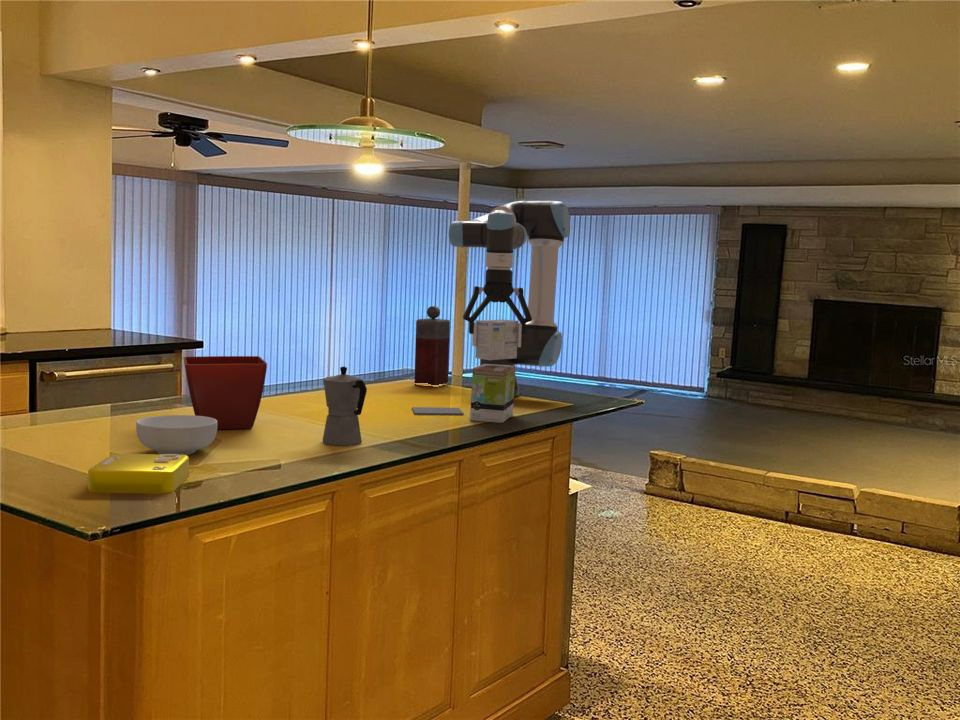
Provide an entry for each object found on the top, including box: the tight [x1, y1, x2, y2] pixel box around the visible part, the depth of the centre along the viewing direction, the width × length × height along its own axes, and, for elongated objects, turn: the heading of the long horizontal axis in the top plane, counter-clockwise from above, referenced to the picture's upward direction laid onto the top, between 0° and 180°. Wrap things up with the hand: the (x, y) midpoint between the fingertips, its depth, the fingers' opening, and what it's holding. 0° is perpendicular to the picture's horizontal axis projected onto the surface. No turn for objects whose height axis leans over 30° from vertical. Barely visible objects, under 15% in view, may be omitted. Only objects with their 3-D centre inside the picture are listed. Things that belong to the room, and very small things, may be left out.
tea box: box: [469, 364, 516, 424], centre depth 248 cm, size 15×10×15 cm
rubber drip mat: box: [411, 406, 464, 416], centre depth 255 cm, size 10×14×1 cm
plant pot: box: [183, 355, 268, 430], centre depth 222 cm, size 19×19×17 cm
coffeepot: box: [322, 366, 368, 447], centre depth 206 cm, size 15×9×18 cm, turn 43°
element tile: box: [87, 453, 190, 495], centre depth 164 cm, size 15×15×5 cm
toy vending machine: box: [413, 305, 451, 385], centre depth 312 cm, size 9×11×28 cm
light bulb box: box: [474, 319, 519, 360], centre depth 247 cm, size 11×7×11 cm, turn 134°
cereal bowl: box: [135, 414, 218, 456], centre depth 191 cm, size 17×17×7 cm
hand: (496, 346), depth 247 cm, fingers closed on light bulb box, 12 cm apart
